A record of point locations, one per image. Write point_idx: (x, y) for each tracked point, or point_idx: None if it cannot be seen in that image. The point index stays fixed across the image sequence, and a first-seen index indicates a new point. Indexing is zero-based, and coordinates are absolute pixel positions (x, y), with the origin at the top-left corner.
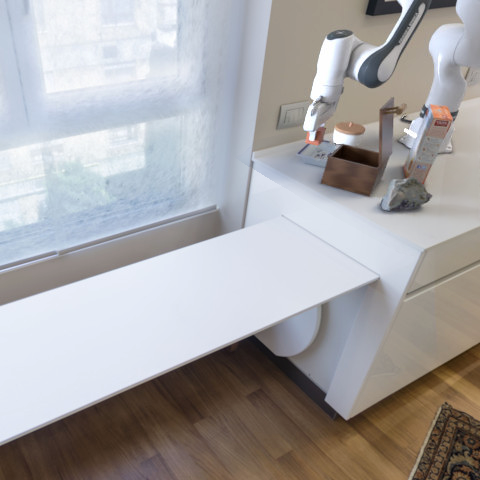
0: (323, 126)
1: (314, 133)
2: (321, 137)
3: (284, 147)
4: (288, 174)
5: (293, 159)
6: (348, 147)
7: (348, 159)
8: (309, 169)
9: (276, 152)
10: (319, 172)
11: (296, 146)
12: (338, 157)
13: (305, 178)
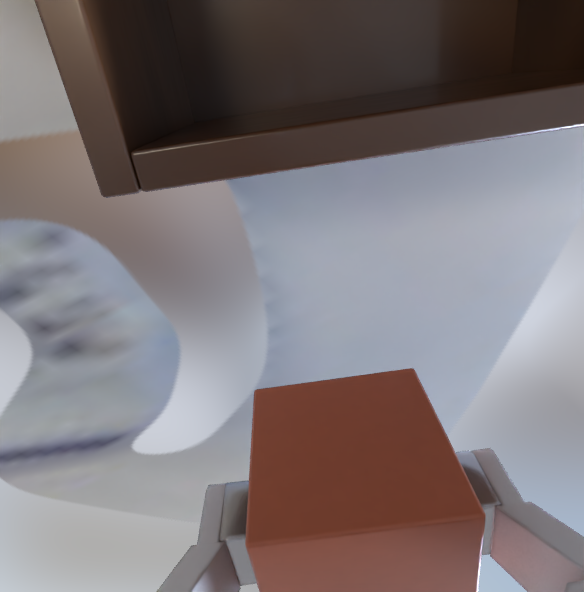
0: (196, 585)
1: (574, 543)
2: (372, 434)
3: (148, 514)
4: (493, 334)
5: None
6: (107, 56)
7: (143, 16)
8: (329, 280)
9: None
10: (327, 204)
11: (73, 486)
12: (238, 122)
13: (492, 228)
